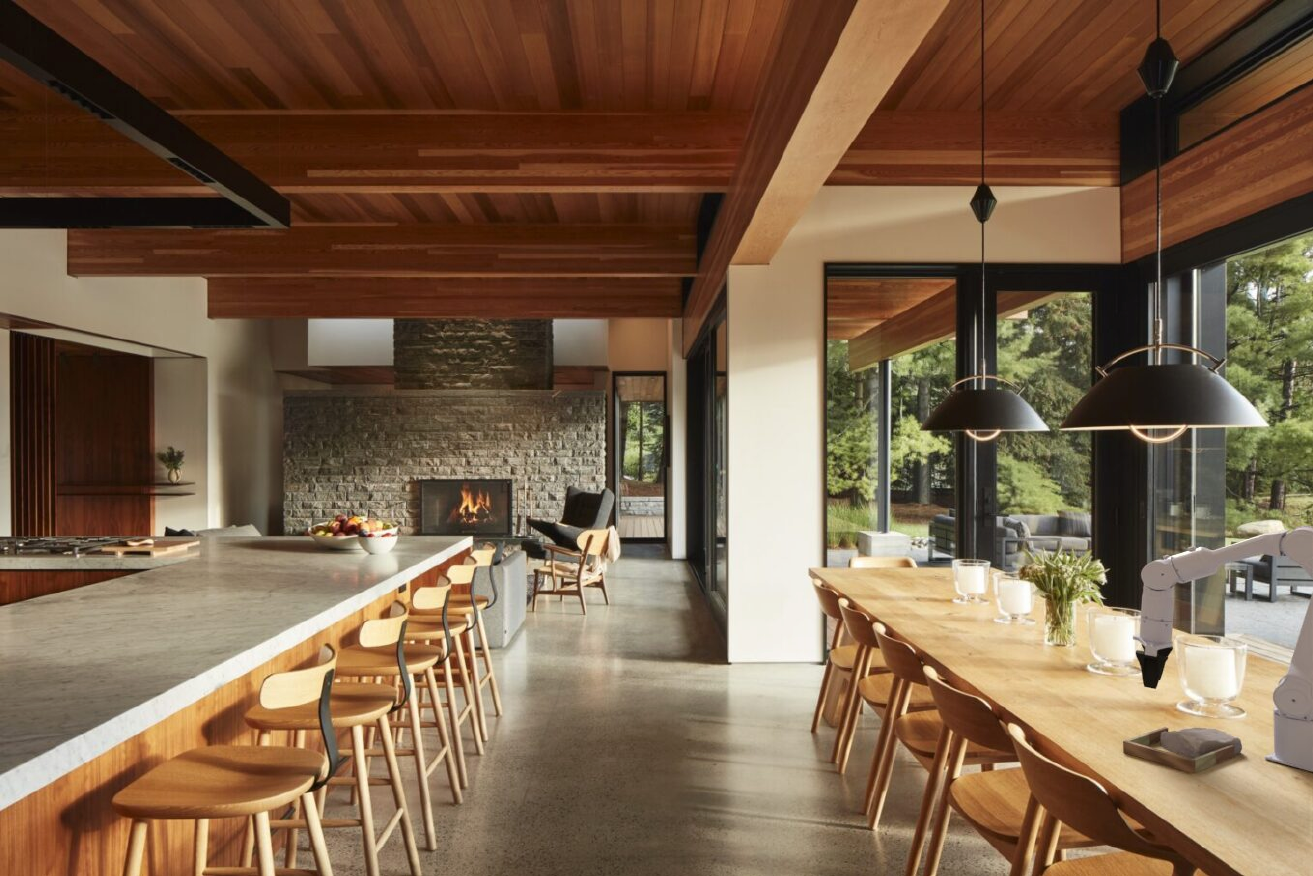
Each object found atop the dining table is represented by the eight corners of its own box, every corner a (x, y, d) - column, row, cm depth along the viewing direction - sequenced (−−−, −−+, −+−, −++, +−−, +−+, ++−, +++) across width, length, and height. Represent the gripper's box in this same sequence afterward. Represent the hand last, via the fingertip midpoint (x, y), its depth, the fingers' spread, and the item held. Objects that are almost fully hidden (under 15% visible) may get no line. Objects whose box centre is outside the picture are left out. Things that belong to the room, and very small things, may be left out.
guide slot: (1234, 757, 158) (1234, 745, 158) (1192, 773, 151) (1192, 761, 151) (1165, 738, 169) (1165, 727, 170) (1123, 752, 162) (1122, 741, 162)
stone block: (1155, 755, 165) (1200, 762, 156) (1151, 730, 166) (1195, 735, 157) (1202, 750, 169) (1248, 757, 159) (1197, 726, 170) (1243, 731, 160)
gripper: (1139, 608, 179) (1135, 670, 180) (1129, 620, 168) (1125, 686, 168) (1177, 615, 175) (1173, 678, 176) (1170, 627, 164) (1165, 695, 164)
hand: (1152, 683), depth 172 cm, fingers open, 7 cm apart
